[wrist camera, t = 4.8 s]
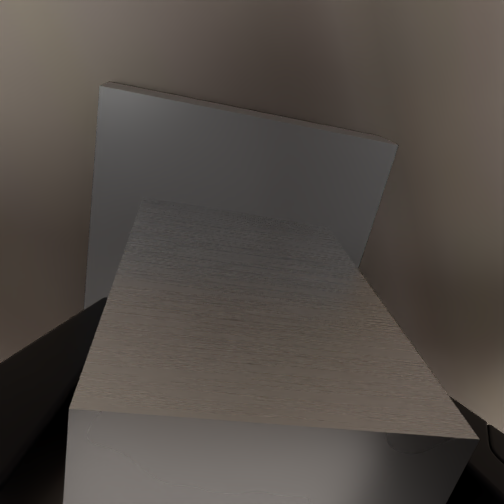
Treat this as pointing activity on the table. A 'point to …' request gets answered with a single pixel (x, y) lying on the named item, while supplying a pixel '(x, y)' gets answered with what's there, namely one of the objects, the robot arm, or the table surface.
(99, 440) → the block
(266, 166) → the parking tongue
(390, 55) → the table surface
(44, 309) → the table surface
